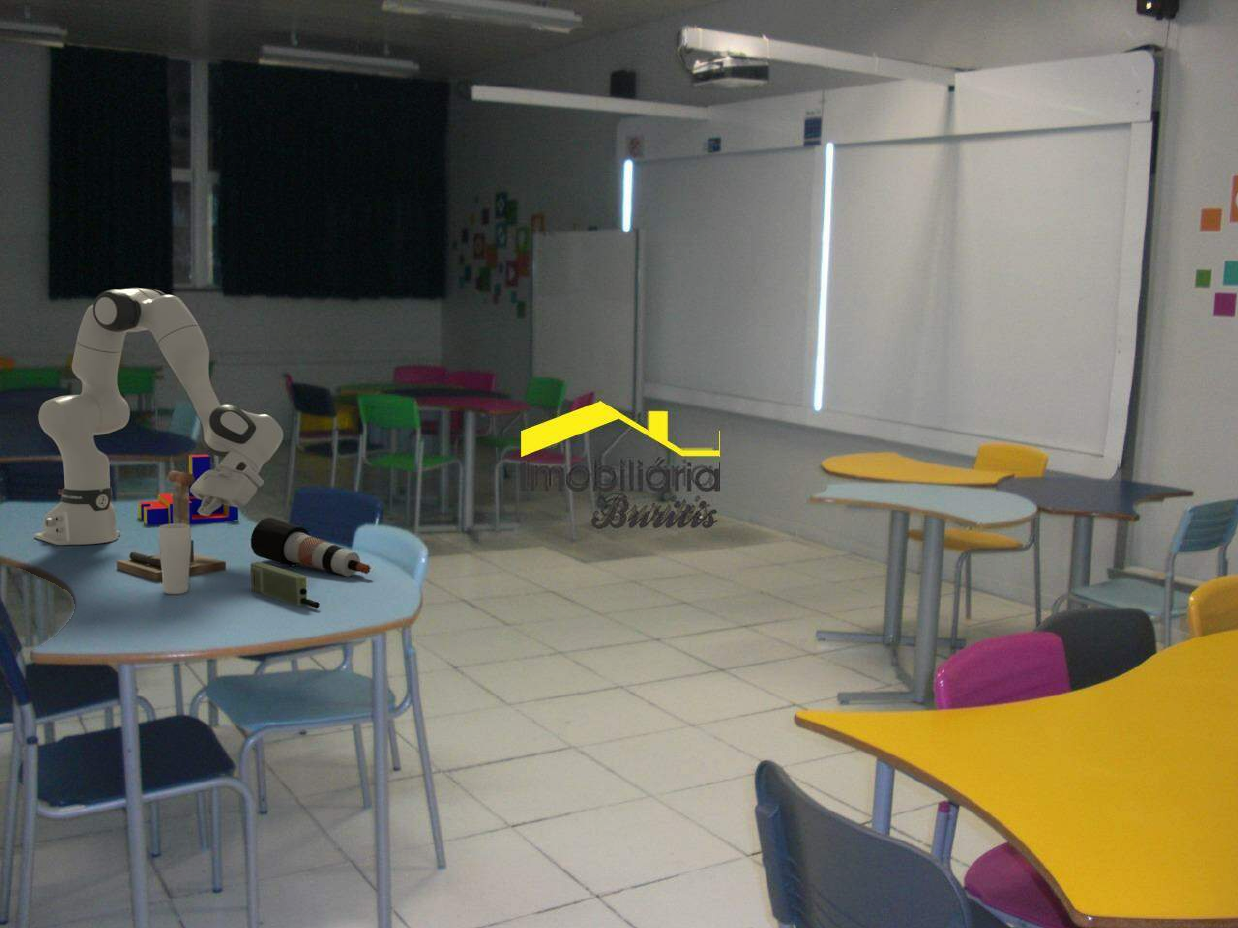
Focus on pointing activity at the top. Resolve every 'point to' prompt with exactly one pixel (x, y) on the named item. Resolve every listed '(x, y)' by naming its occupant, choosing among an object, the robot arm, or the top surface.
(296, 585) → the handheld radio
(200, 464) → the building blocks toy
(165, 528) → the drinking glass
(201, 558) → the cutter board
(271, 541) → the cable
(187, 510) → the cutter lever
